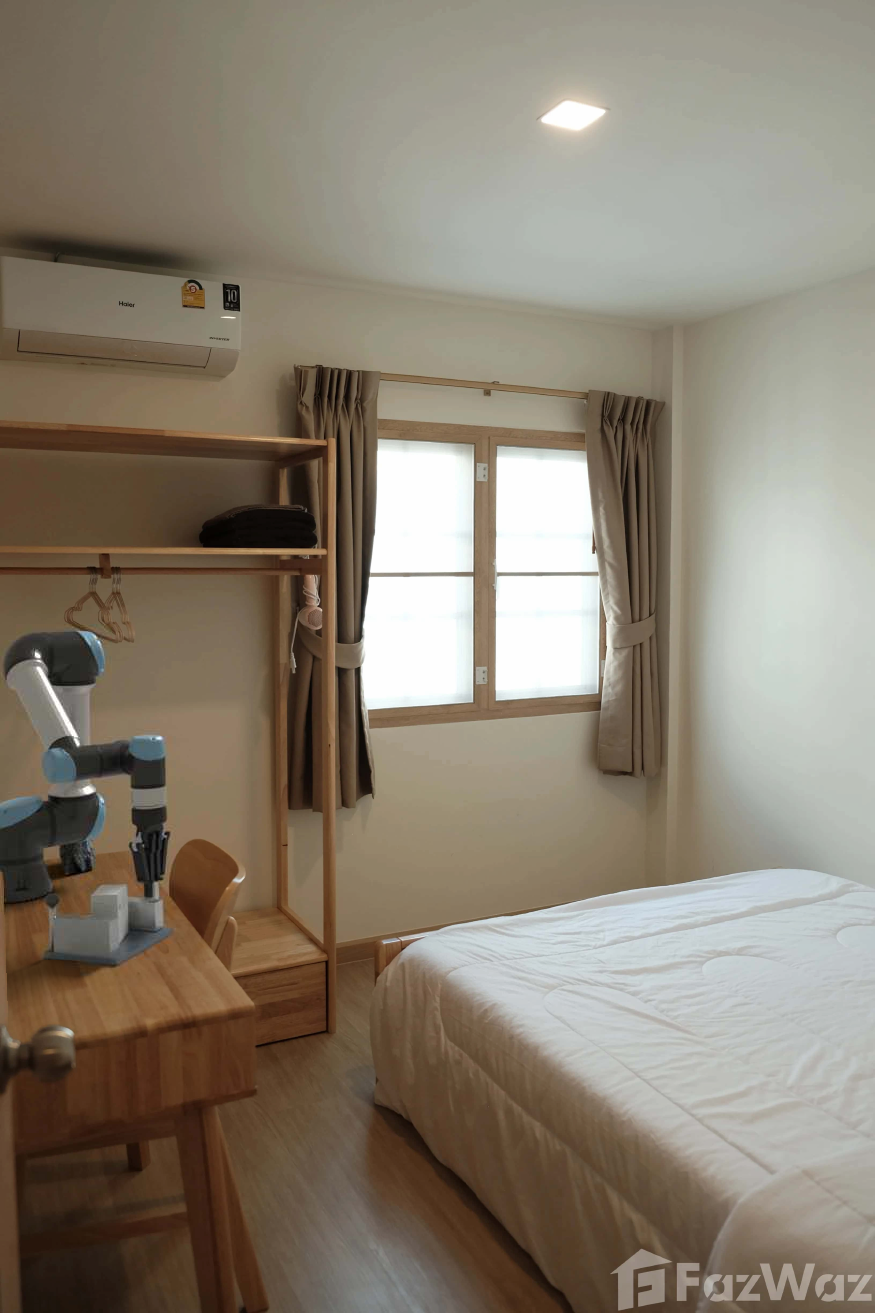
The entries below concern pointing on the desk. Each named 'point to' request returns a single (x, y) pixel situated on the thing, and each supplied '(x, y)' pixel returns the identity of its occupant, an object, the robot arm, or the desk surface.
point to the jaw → (145, 913)
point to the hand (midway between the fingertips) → (152, 910)
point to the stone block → (77, 856)
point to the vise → (94, 937)
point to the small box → (112, 905)
